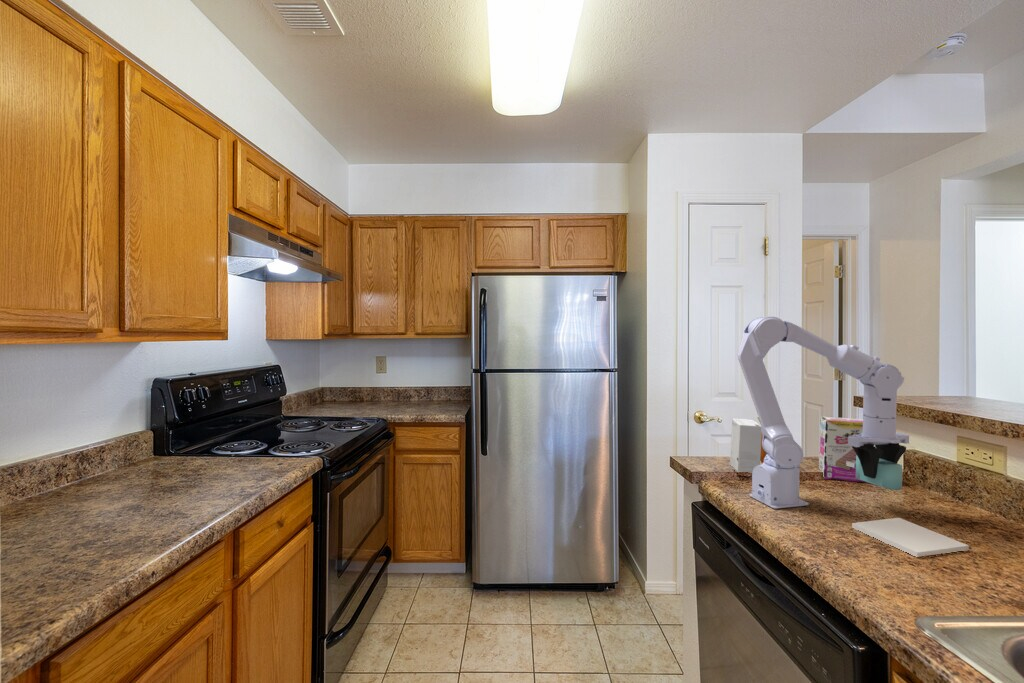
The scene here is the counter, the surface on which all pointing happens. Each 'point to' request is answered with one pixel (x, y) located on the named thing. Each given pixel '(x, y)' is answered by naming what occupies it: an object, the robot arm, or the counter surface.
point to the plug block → (881, 474)
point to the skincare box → (745, 444)
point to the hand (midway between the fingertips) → (877, 476)
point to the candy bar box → (838, 447)
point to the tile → (909, 537)
